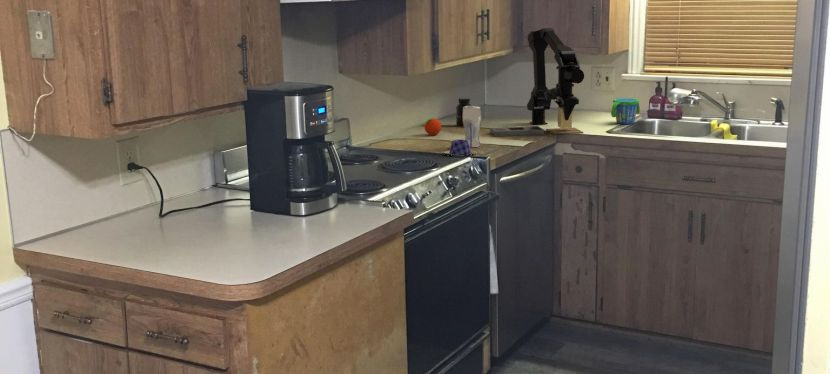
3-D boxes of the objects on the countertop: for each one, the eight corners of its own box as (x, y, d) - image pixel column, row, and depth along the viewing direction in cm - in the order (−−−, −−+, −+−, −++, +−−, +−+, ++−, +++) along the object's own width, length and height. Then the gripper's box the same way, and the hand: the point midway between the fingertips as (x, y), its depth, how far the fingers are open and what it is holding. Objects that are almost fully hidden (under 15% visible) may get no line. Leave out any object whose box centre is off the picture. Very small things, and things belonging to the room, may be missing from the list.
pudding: (454, 150, 337) (454, 136, 336) (482, 153, 331) (482, 139, 330) (437, 156, 327) (437, 141, 326) (466, 159, 321) (466, 144, 320)
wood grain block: (557, 126, 374) (558, 106, 372) (568, 125, 375) (568, 106, 373) (560, 128, 370) (561, 108, 368) (571, 127, 370) (571, 107, 368)
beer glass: (469, 148, 339) (468, 108, 335) (459, 146, 345) (459, 106, 342) (485, 147, 342) (484, 107, 339) (475, 144, 348) (475, 105, 345)
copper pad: (546, 129, 378) (546, 128, 377) (574, 128, 379) (574, 127, 379) (554, 134, 366) (554, 133, 366) (583, 133, 367) (583, 132, 367)
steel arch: (490, 132, 374) (490, 127, 373) (537, 130, 376) (537, 125, 376) (495, 136, 364) (495, 131, 364) (543, 134, 366) (544, 129, 366)
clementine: (432, 137, 366) (431, 119, 364) (419, 135, 371) (418, 118, 369) (444, 134, 372) (444, 117, 370) (432, 133, 376) (431, 116, 375)
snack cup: (619, 126, 382) (620, 102, 380) (603, 123, 391) (603, 99, 389) (647, 123, 390) (648, 99, 388) (630, 120, 399) (631, 97, 397)
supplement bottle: (454, 126, 392) (453, 99, 389) (459, 124, 398) (459, 97, 395) (469, 127, 389) (469, 99, 386) (474, 125, 395) (474, 97, 393)
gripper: (539, 79, 376) (539, 117, 380) (552, 84, 358) (551, 123, 361) (566, 78, 377) (565, 116, 381) (579, 83, 359) (578, 122, 363)
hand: (564, 119), depth 371 cm, fingers closed on wood grain block, 4 cm apart
